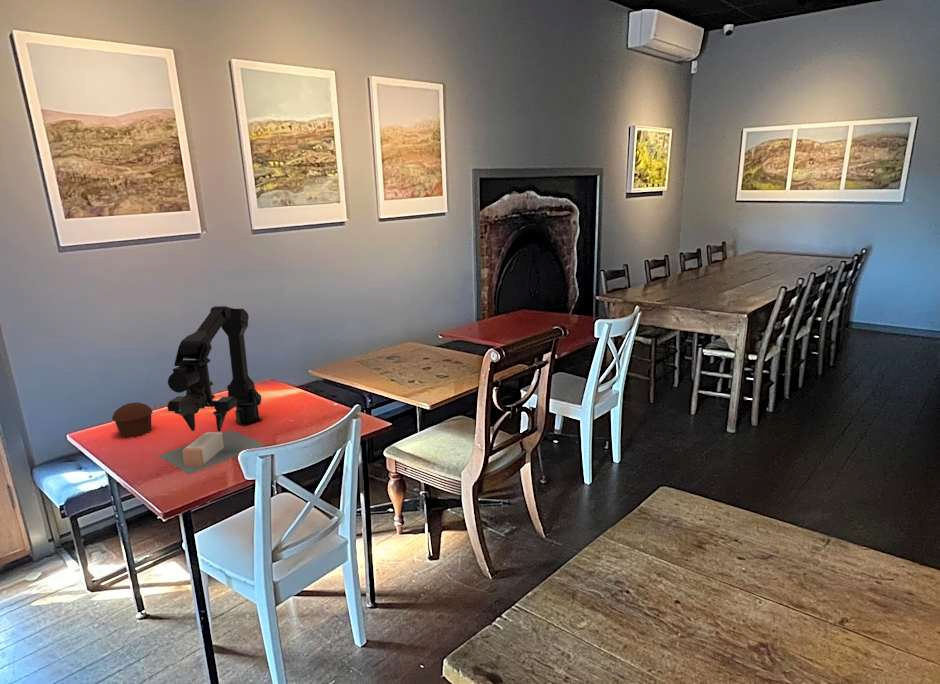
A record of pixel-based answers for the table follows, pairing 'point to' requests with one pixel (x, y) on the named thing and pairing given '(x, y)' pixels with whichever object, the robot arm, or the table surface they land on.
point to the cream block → (203, 449)
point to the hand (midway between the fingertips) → (206, 430)
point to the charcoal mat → (231, 449)
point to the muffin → (133, 419)
